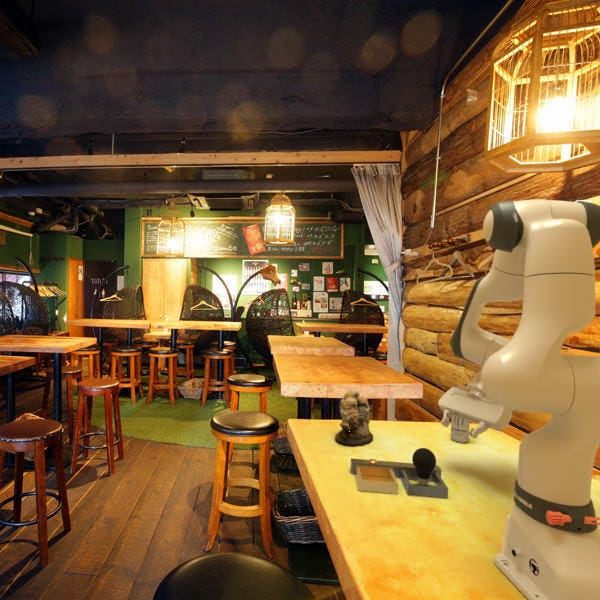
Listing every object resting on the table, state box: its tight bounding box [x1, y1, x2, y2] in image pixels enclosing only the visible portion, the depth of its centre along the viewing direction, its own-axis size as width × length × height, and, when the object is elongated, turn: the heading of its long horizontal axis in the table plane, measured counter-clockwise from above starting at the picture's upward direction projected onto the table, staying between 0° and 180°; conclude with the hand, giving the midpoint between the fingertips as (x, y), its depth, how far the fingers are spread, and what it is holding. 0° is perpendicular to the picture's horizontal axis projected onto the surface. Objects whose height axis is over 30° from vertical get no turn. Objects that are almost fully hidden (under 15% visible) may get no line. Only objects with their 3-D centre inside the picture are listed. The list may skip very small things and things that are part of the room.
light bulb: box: [411, 447, 437, 485], centre depth 100 cm, size 6×6×10 cm
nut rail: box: [349, 457, 449, 499], centre depth 102 cm, size 13×24×3 cm, turn 87°
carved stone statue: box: [334, 389, 374, 448], centre depth 134 cm, size 18×12×17 cm, turn 149°
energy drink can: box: [450, 415, 471, 444], centre depth 139 cm, size 6×6×15 cm
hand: (457, 430), depth 105 cm, fingers open, 8 cm apart
